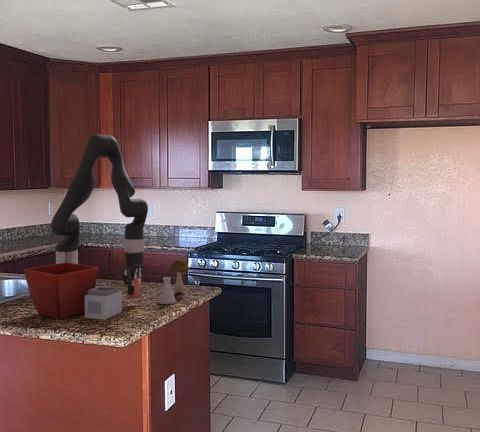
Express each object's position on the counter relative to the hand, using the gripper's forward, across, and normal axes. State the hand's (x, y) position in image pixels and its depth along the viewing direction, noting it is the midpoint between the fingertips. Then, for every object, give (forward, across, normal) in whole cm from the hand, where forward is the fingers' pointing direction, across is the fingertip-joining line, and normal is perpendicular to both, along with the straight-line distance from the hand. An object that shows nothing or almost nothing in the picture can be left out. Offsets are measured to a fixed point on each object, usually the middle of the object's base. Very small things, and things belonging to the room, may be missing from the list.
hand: (133, 293), depth 223 cm
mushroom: (+5, -27, +7) cm, 28 cm away
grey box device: (+5, +17, -3) cm, 18 cm away
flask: (+5, -8, +10) cm, 14 cm away
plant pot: (+5, +20, -18) cm, 28 cm away
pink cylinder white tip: (+1, 0, 0) cm, 1 cm away
